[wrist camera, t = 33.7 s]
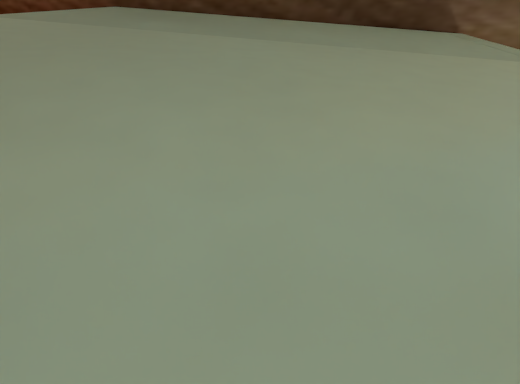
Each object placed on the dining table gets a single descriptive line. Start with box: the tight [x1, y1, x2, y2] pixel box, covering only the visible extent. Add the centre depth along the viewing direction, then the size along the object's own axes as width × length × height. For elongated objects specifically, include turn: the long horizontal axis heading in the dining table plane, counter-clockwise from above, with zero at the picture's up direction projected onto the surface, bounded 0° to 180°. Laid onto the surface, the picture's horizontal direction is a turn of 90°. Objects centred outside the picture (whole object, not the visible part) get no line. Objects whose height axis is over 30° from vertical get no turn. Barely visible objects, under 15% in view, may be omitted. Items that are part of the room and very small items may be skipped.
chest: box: [0, 7, 520, 62], centre depth 15 cm, size 14×18×10 cm
